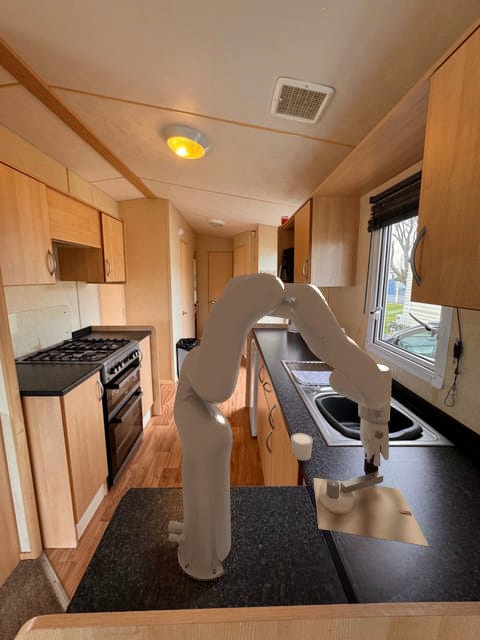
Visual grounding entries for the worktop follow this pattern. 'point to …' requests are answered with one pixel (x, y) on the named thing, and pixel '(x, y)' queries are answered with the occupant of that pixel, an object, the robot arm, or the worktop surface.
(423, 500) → the worktop surface
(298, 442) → the white short cylinder
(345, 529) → the tan flat board
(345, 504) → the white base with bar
